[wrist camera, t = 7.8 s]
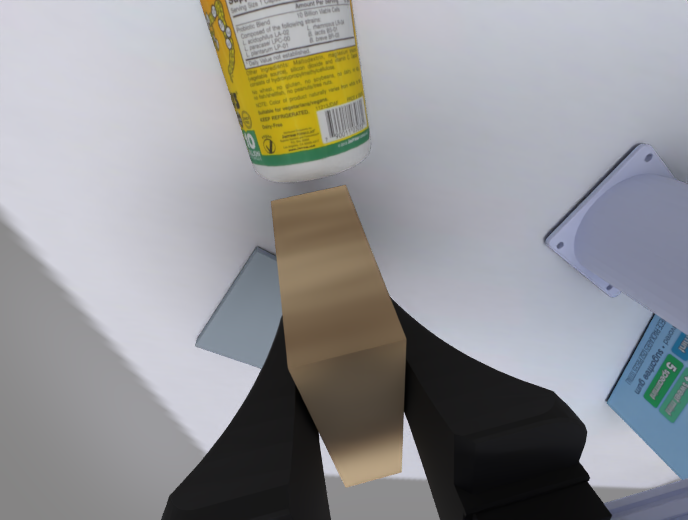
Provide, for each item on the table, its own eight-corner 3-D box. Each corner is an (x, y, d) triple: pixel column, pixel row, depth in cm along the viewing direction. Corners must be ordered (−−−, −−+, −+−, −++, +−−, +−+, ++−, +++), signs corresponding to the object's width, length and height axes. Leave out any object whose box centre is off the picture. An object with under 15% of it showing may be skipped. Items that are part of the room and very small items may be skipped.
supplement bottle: (374, 173, 13) (320, -225, 8) (240, 194, 14) (115, -158, 9) (371, 139, 18) (336, -128, 13) (271, 156, 18) (200, -90, 13)
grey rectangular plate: (405, 321, 25) (408, 326, 25) (342, 390, 28) (344, 396, 27) (257, 246, 20) (256, 251, 20) (196, 339, 23) (194, 346, 22)
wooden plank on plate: (366, 352, 19) (401, 472, 15) (323, 363, 19) (345, 487, 15) (345, 184, 11) (406, 339, 7) (270, 201, 11) (288, 369, 7)
